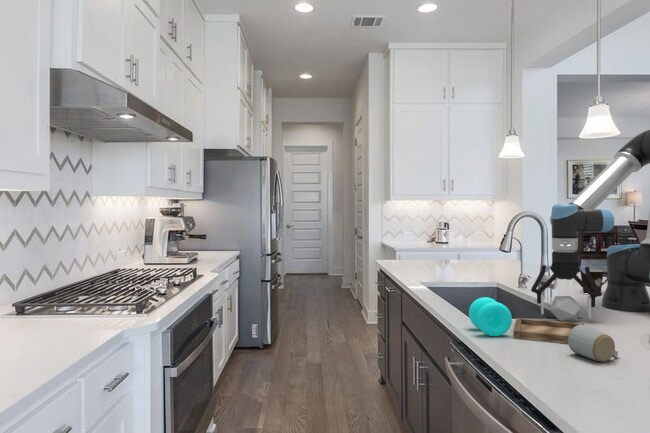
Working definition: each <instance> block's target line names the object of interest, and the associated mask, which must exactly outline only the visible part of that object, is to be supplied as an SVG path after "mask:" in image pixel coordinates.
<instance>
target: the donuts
mask: <svg viewBox="0 0 650 433" xmlns="http://www.w3.org/2000/svg"><path fill="white" fill-rule="evenodd" d="M512 317H513V316H512V313H511V311H510V309H509V308H508V307H507V305H504V303H501V302H498V301H496V300H495V299H494V298H491V297H488V296H487V297H486V296H484V297H483V296H482V297H478V298H477V299H475V300H474V301H472V303H471V305H470V307H469V310H468V318H469V320H470V322H471V324H473V326H474V327H476V328H477V329H479V330H480V331H481V332H482V333H483V334H485V335H487V336H489V337H500V336H503V335H505V334H506V333H507V332H508V331H509V330H510V328H511V325H512V324H513V323H512V322H513V318H512Z"/></svg>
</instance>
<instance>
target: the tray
mask: <svg viewBox="0 0 650 433" xmlns="http://www.w3.org/2000/svg"><path fill="white" fill-rule="evenodd" d="M577 325H585V323H583V322H573V321H562V322H560V321H559V320H558V321H557V320H548V319H535V318H525V317H524V318H523V317H515V324H514V328H513V339H518V340H529V341H538V342H545V341H547V343H555V342H556V344H564V343H565V344H567V345H569V344H568V337H569V334H570V332H571V330H572V329H573V328H574V327H575V326H577Z"/></svg>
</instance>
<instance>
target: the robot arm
mask: <svg viewBox="0 0 650 433" xmlns="http://www.w3.org/2000/svg"><path fill="white" fill-rule="evenodd" d="M647 165H650V129H649V130H644V131H643V132H641V133H639V134H637V135H636V136H634V137H633V138H632V139H630V140H629V141H628V142H626V143H625V145H623V146H622V147H621V148H620V149H619V150H617V152H616V153H615V154H614V155H613V160H612V161H611V162H610V163H609V164H608V165H606V167H604V168H603V170H602V171H600V173H598V175H596V177H595V178H594V179H593V180H592V181H590V183H588V184H587V185H586V187H585V188H583V189H582V190H581V191H580V192H579V193H578V194H577V195H576V196H575V197H574V198H573V199H572V200H571V201H570V202H569V203H567V204H565V203H563V204H562V203H560V204H558V203H557V204H554V205H552V207H551V215H550V217H549V222H550V224H551V249H552V252H551V265H546V264H544V263H543V264H542V265H541V270H540V271H539V274H538V276H537V277H536V279H535V281H534V283H533V285H532V287H531V289H530V291H531V293H535V294H536V302H537V304H539V305H540V314H541V315H544V307H545V306H544V304H545V303H544V293H543V292H544V291H546V289H548V287H549V286H550V285H551V284H552V283H553V282H554V281H555V280H557V279H559V280H566V281H567V280H568V281H571V280H574V281H575V282H577V283H578V284H579V285H580V287H581V288H582V290H583V289H584V290H585V291H586V292H587V293H588V294H589V296H588V294H587V318H589V319H592V308H596V298H597V297H602V295H603V297H602V299H601V305H602V306H603V307H604V308H607V309H612V310H617V311H625V312H650V295H649V292H648V291H647V284H650V211H649V214H648V222H647V228H646V237H645V239H643V240H642V241H640V243H636V244H618V245H617V244H615V245H609V246H608V248H607V250H606V270H607V271H606V273H607V275H606V279H607V282H606V288H605V291H604V293H603V294H602V290H601V291H600V290H599V288H598V286H597V285H596V283H595V281H594V279H593V278H592V276H591V274H590V269H591V268H590V267H589V266H588V265H585V266H579V252H577V251H578V250H579V233H600V234H601V233H606V232H610V231H611V230H612V229H613V228H614V225H615V217H614V214H613V213H612V212H611V210H609V209H599V208H598V209H597V207H599V206H600V205H601V204H602V203H603V202H604V201H605V200H606V199H607V198H608V197H609V196H610V195H611V194H612V193H614V191H615V190H616V189H617V188H618V187H619V186H620V185H622V183H624V181H626V180H627V178H629V177H630V175H632V173H637V172H639V171H640V170H641V169H642V168H643V167H645V166H647ZM549 270H550V271H551V272H552V273H553V274H552V275H551V276H550V277H549V278H548V279H547V280H546V281H545V282H544V283H543V284H542V285H541V286H539V285H540V283H541V281H542V280H543V278H544V276H545V274H546V273H547V272H549ZM580 270H581V271H582V272H583V273H585V274H586V276H587V278H588V279H589V281H590V283H591V284H592V286H593V288H594V290H595V291H596V292H594V293H593V292H592V291H591V290H590V289H589V288H588V287H587V286H586V285H585V284H584V282H583V281H582V280H581V277H579V276H578V273H580ZM538 286H539V288H538Z"/></svg>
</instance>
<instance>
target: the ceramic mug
mask: <svg viewBox="0 0 650 433" xmlns="http://www.w3.org/2000/svg"><path fill="white" fill-rule="evenodd" d="M615 343H616V342H615V341H614V339H613V338H612V336H610V335H608V334H607V333H605V332H603V331H600V330H597V329H594V328H592V327H590V326H588V325H585V324H584V325H577V326H575V327H574V328H573V329H572V330H571V332H570V334H569V337H568V344H567V345H568V347H569V349H570V350H571V351H572V353H574V354H577V355H580V356H581V357H584V358H588V359H590V360H593V361H597V362H599V363H605V362H607V361H609V360H610V359H611V358H612V357H614V358H617V357H618V355H619V351H617V350H616V345H615Z"/></svg>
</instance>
